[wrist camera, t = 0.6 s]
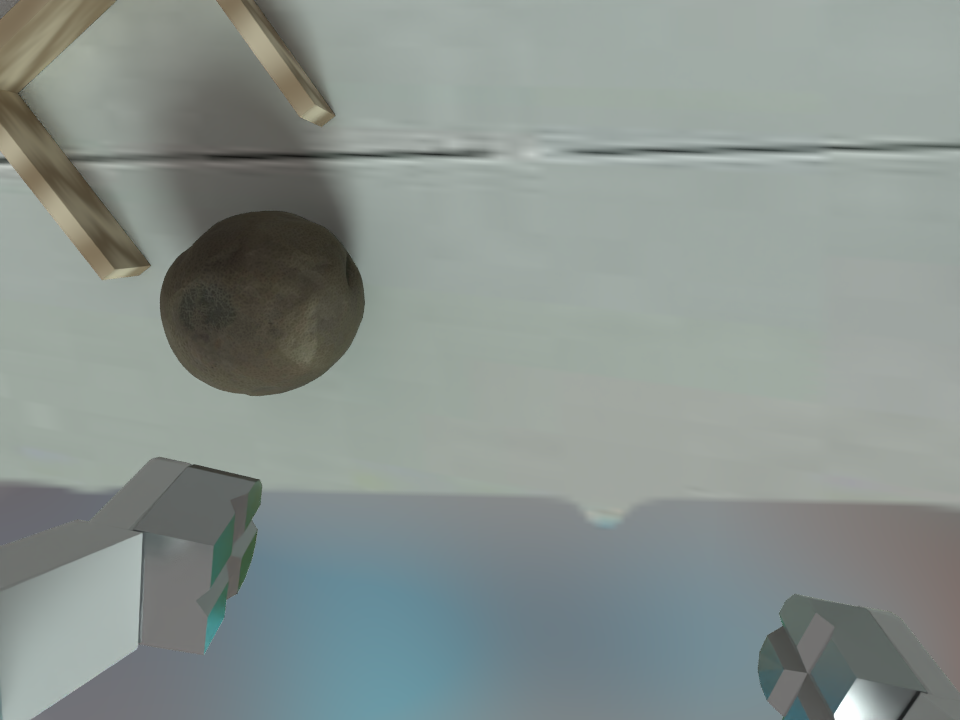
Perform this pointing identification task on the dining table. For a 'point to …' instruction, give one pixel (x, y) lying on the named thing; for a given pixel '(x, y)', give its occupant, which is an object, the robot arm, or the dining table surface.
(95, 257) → the box
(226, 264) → the cantaloupe
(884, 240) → the dining table surface
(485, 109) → the dining table surface
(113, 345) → the dining table surface
